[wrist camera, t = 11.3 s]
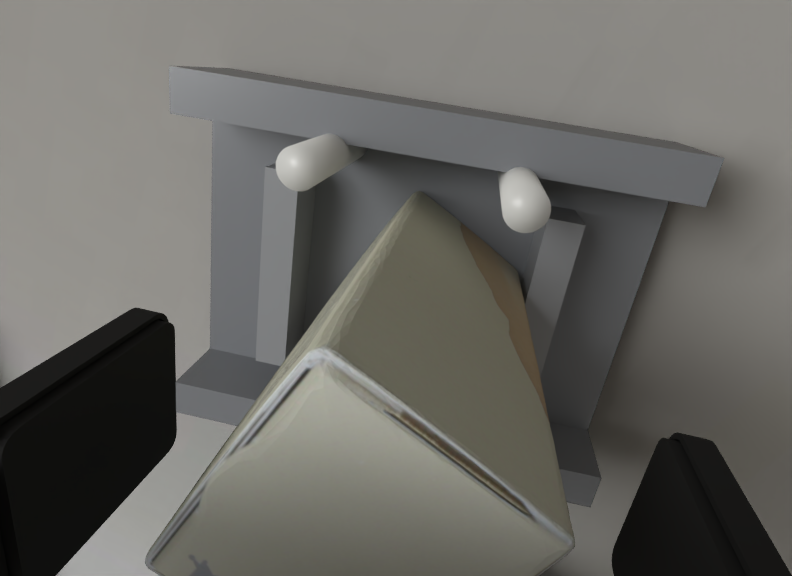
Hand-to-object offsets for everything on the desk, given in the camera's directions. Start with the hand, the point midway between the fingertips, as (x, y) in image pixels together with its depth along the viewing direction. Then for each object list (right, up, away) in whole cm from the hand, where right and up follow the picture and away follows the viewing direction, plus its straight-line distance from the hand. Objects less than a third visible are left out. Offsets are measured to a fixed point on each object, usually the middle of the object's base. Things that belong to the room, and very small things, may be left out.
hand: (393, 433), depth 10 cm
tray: (+1, +3, +8) cm, 9 cm away
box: (+1, +3, +8) cm, 8 cm away
